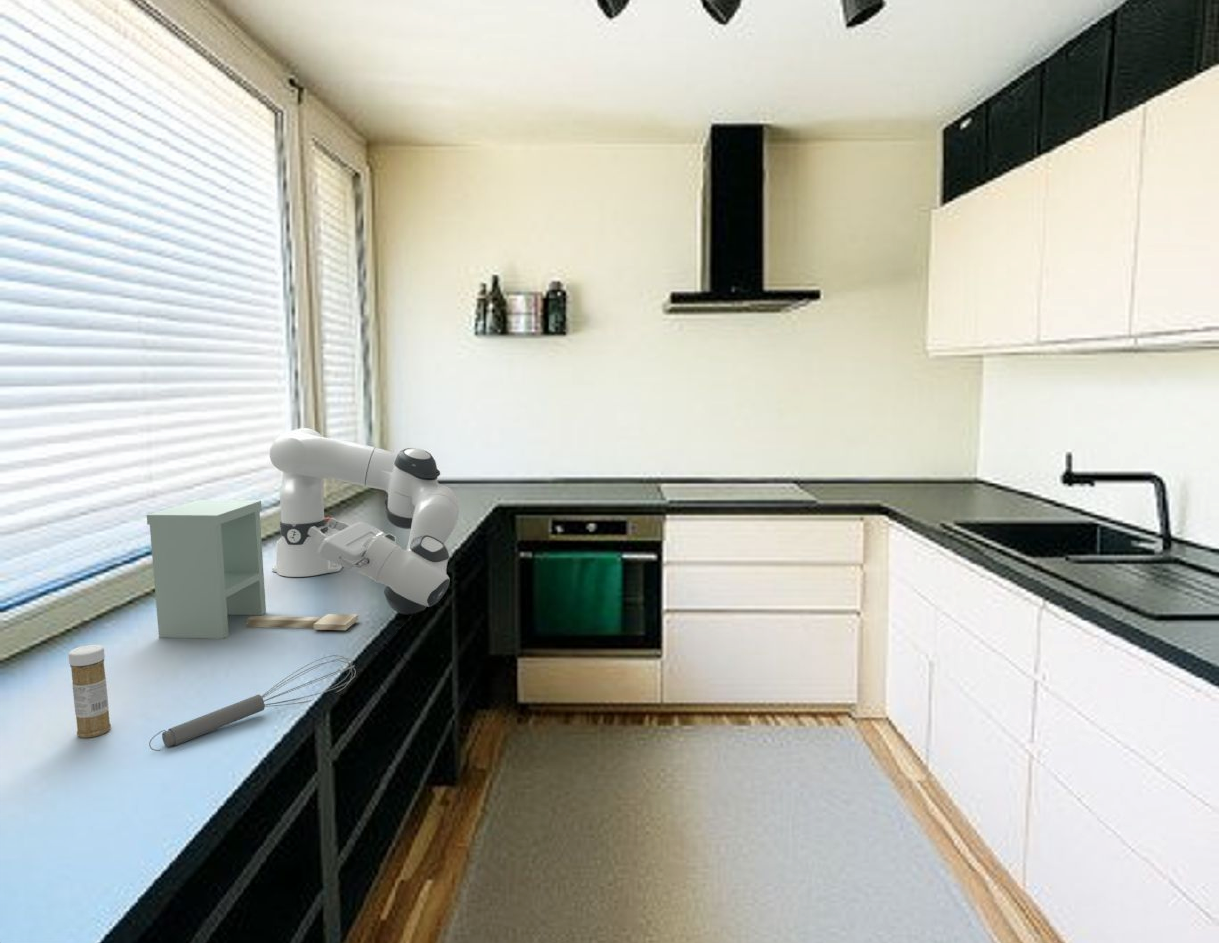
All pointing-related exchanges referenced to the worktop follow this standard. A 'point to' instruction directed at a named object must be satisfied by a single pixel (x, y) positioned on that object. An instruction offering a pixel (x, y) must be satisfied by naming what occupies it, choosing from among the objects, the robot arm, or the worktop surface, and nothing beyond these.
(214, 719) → the kitchen whisk
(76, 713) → the sprinkles bottle
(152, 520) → the shelf
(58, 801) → the worktop surface
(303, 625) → the turner
